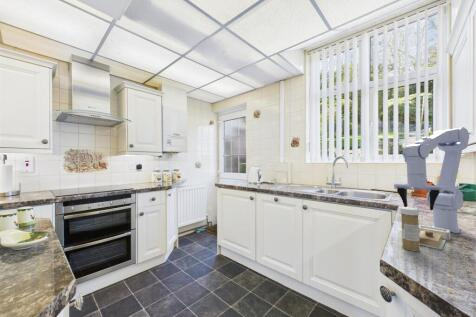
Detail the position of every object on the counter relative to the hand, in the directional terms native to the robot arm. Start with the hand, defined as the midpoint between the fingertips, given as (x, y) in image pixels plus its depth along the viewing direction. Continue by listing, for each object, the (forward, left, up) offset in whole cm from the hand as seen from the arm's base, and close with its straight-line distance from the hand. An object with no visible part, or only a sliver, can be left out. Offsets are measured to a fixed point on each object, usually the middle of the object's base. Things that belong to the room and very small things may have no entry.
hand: (418, 208), depth 78 cm
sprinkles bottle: (+20, +1, -11) cm, 23 cm away
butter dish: (-1, +4, -10) cm, 11 cm away
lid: (+8, +4, -10) cm, 13 cm away
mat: (+8, +4, -10) cm, 14 cm away
